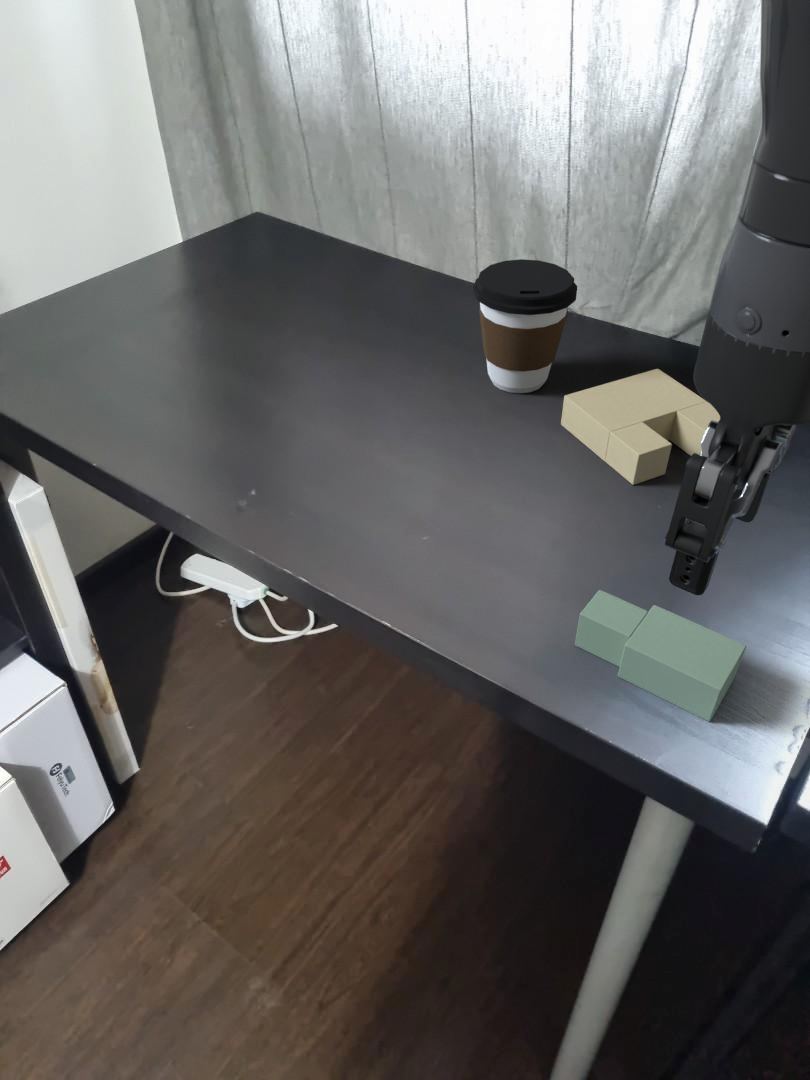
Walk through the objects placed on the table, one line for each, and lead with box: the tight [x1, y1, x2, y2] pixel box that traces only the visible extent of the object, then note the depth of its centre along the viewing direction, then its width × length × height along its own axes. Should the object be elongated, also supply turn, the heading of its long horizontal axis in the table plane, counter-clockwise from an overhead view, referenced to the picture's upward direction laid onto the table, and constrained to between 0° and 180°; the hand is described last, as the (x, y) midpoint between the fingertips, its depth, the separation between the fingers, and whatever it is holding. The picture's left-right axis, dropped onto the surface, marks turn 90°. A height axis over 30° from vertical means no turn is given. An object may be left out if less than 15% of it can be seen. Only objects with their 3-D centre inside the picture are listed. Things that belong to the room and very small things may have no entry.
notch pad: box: [560, 368, 720, 486], centre depth 83 cm, size 12×12×4 cm
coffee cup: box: [472, 258, 578, 394], centre depth 90 cm, size 11×11×12 cm
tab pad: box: [574, 589, 747, 722], centre depth 60 cm, size 11×5×4 cm, turn 53°
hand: (713, 549), depth 53 cm, fingers open, 8 cm apart
